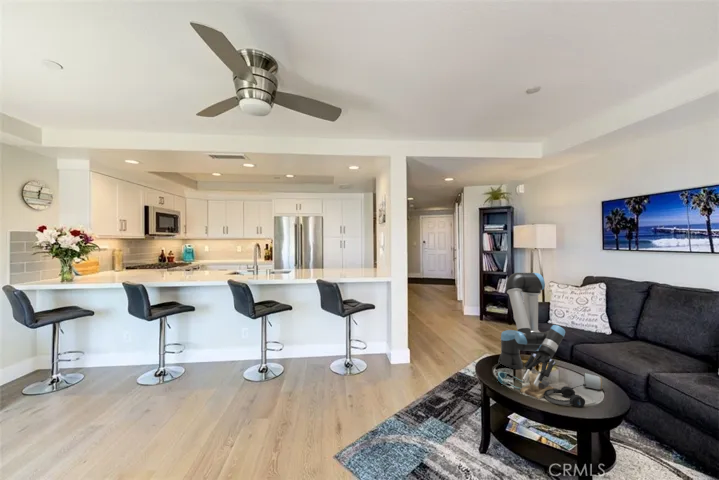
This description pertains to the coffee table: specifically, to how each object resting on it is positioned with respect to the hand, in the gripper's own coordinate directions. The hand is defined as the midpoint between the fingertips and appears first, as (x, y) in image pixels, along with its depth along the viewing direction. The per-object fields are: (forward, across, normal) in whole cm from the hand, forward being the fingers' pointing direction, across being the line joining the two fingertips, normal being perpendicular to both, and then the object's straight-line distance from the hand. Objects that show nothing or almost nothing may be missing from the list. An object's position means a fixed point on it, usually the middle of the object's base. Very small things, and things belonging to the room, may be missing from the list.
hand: (529, 382), depth 167 cm
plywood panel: (-1, +1, -10) cm, 10 cm away
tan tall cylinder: (+1, 0, -6) cm, 6 cm away
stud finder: (-5, +2, -12) cm, 14 cm away
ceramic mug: (-25, -9, -34) cm, 43 cm away
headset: (-2, -13, -12) cm, 18 cm away
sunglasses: (+4, +14, -6) cm, 16 cm away
